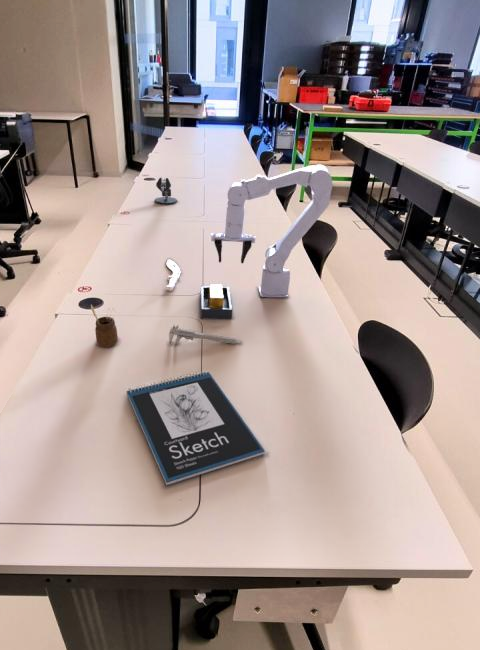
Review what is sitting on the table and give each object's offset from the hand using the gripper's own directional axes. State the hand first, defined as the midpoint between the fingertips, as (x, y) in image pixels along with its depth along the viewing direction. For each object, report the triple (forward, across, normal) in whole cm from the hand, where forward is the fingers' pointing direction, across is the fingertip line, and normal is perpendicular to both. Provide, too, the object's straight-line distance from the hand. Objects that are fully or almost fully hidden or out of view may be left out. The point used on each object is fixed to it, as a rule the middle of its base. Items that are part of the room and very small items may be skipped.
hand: (231, 261), depth 151 cm
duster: (+10, -5, -13) cm, 17 cm away
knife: (+11, -21, +12) cm, 27 cm away
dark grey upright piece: (+12, -28, +110) cm, 114 cm away
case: (+10, -5, -13) cm, 18 cm away
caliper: (+11, -9, -36) cm, 39 cm away
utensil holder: (+11, -37, -36) cm, 53 cm away
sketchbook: (+11, -13, -69) cm, 71 cm away
